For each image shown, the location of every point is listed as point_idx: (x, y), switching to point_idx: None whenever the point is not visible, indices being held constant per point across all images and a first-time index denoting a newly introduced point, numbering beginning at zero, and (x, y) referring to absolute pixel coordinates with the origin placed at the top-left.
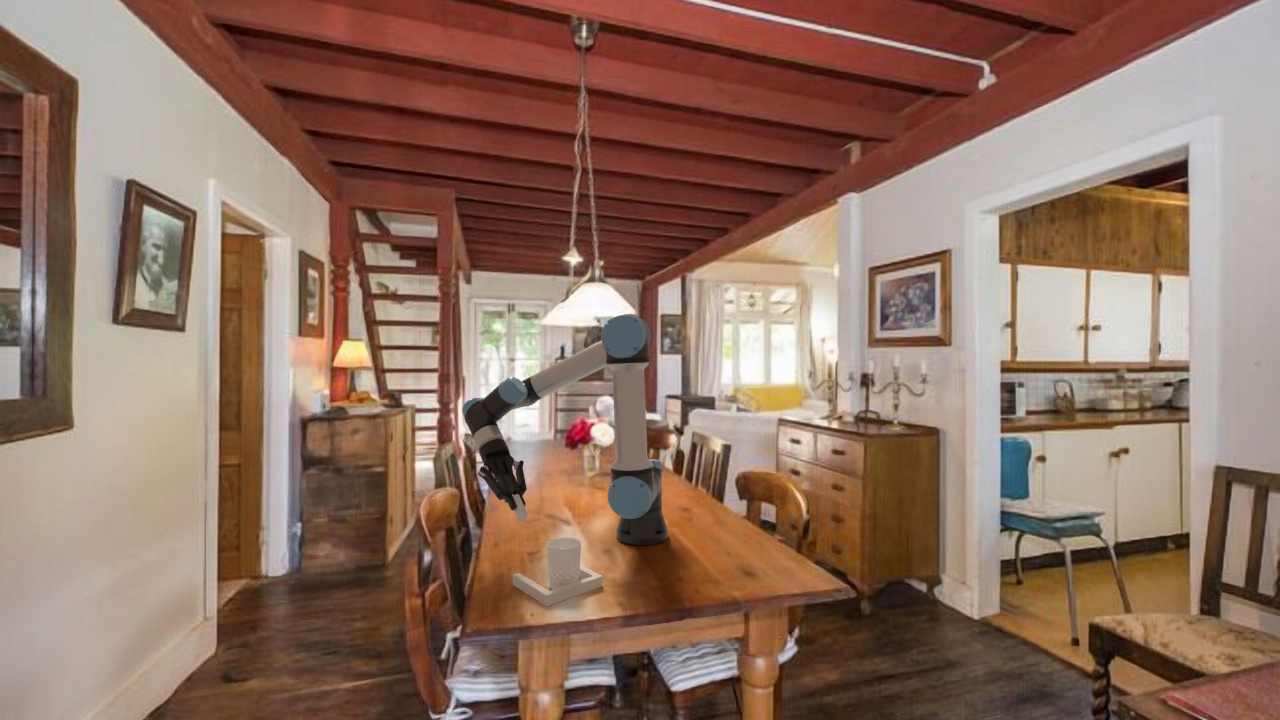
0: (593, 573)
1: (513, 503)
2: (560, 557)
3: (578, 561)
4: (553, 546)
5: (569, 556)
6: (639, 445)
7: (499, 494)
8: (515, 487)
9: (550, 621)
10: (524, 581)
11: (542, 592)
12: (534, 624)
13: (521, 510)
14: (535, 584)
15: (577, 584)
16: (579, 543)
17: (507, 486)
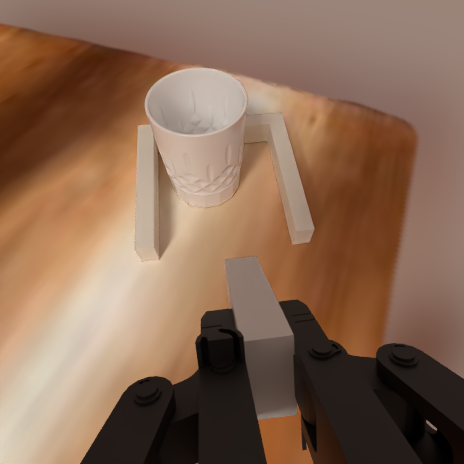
0: (144, 143)
1: (296, 315)
2: (228, 95)
3: (179, 111)
4: (209, 147)
5: (207, 87)
6: None
7: (420, 452)
8: (250, 409)
9: (292, 92)
10: (300, 181)
11: (283, 123)
12: (319, 96)
13: (255, 272)
14: (282, 158)
15: None
16: (153, 97)
17: (359, 422)
